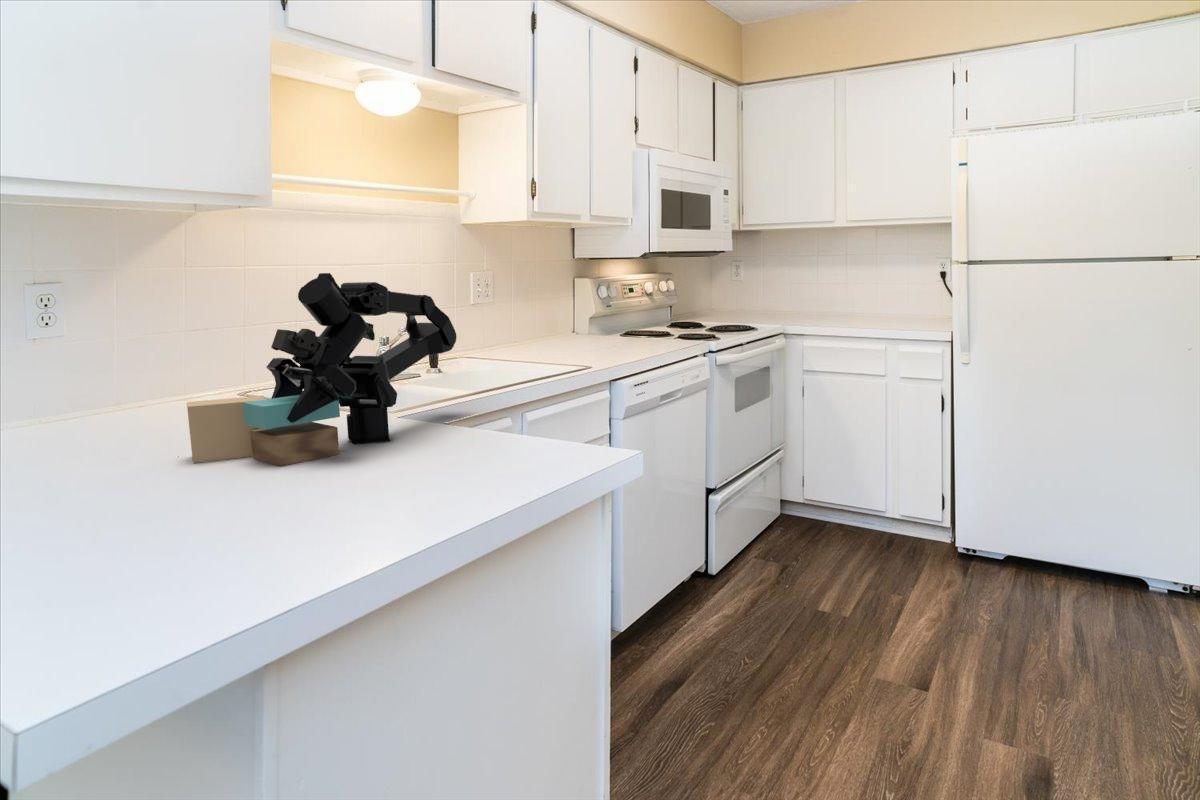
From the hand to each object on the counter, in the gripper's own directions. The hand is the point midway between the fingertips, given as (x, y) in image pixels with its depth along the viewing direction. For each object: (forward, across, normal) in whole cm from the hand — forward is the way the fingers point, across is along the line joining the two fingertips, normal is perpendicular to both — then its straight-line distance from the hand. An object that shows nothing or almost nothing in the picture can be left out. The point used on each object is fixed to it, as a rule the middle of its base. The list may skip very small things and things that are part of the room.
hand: (278, 418), depth 124 cm
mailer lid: (-1, 0, +2) cm, 3 cm away
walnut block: (+3, 0, +6) cm, 7 cm away
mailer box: (+7, -9, +2) cm, 12 cm away
